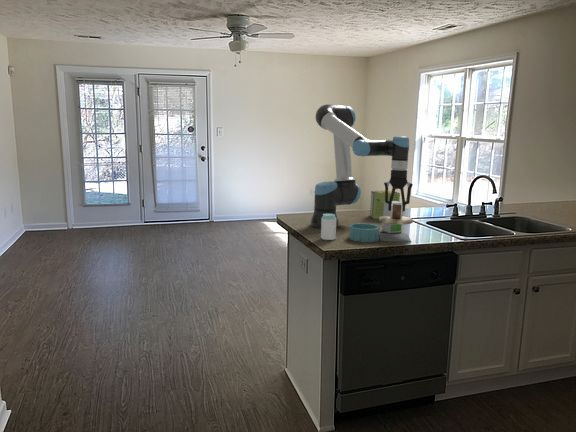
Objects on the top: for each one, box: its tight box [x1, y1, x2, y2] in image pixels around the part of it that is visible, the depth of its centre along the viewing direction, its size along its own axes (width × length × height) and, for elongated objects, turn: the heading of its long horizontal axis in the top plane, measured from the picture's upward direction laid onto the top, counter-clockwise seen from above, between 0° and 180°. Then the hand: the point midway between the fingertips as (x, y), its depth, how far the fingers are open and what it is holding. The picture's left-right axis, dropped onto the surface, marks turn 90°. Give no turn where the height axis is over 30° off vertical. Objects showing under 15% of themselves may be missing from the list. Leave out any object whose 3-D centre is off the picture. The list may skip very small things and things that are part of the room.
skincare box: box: [381, 201, 404, 234], centre depth 245 cm, size 8×7×16 cm
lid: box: [378, 204, 414, 226], centre depth 230 cm, size 16×16×8 cm
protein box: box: [369, 190, 401, 220], centre depth 282 cm, size 10×15×16 cm
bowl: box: [348, 222, 380, 243], centre depth 229 cm, size 14×14×6 cm
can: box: [320, 214, 337, 241], centre depth 226 cm, size 7×7×12 cm
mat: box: [379, 232, 412, 243], centre depth 232 cm, size 14×14×1 cm
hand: (396, 217), depth 230 cm, fingers closed on lid, 4 cm apart
